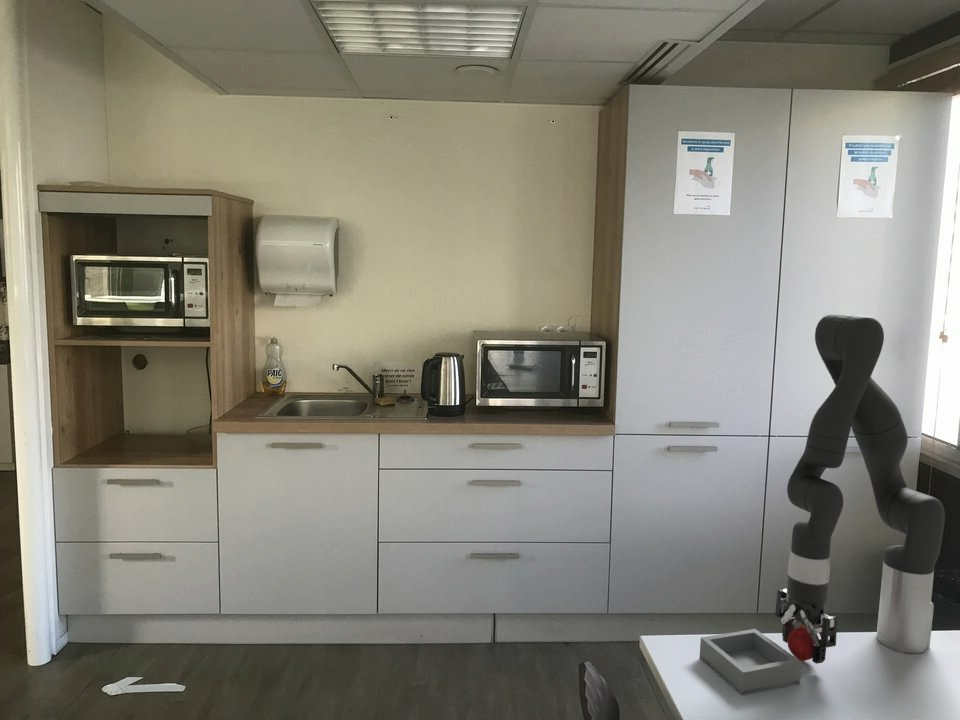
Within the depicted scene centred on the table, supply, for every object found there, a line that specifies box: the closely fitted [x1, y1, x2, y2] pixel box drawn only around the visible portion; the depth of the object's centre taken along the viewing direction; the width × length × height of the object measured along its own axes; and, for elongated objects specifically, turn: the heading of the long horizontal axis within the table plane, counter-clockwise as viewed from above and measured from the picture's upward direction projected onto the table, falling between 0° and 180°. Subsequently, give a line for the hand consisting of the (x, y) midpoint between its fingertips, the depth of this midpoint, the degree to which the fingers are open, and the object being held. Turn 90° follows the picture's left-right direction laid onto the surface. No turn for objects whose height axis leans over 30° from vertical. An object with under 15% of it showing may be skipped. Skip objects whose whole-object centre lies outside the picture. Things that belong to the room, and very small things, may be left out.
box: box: [699, 628, 802, 696], centre depth 141 cm, size 13×13×4 cm
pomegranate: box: [787, 623, 814, 662], centre depth 145 cm, size 6×6×8 cm
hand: (802, 651), depth 145 cm, fingers open, 8 cm apart
